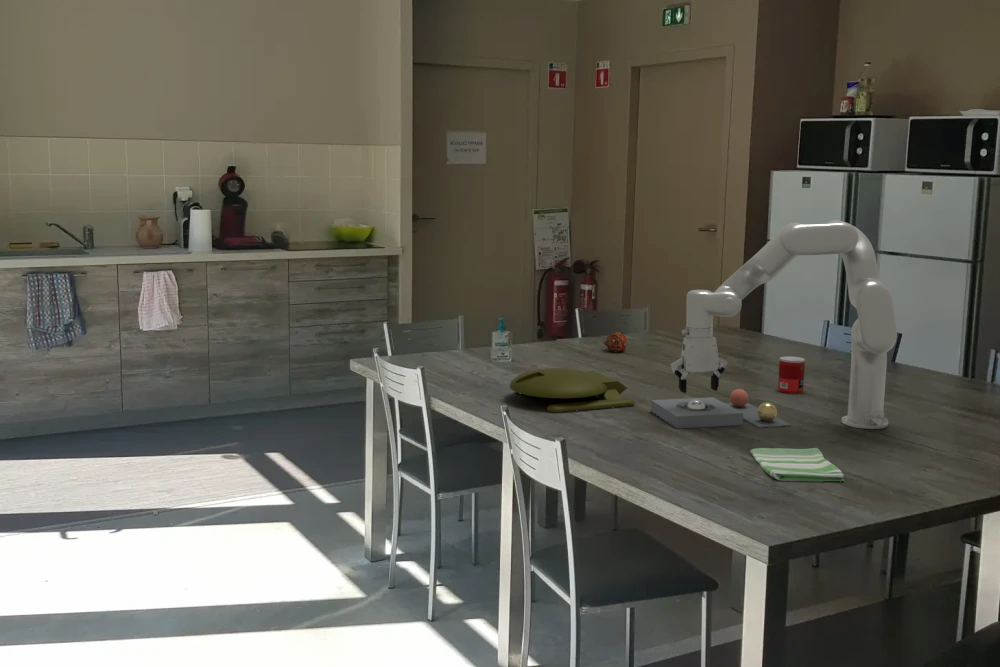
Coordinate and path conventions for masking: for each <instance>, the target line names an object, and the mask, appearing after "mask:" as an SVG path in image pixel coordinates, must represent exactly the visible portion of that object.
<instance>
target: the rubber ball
mask: <svg viewBox="0 0 1000 667" xmlns="http://www.w3.org/2000/svg"><path fill="white" fill-rule="evenodd" d="M729 401H730V403H732V404H733V405H734V406H736V407H742V406H744V405H746V404H747V403H749V394H748V393H747V391H746V390H744V389H742V388H736V389H734V390H732V392H731V393H730V395H729Z"/></svg>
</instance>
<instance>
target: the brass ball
mask: <svg viewBox="0 0 1000 667" xmlns="http://www.w3.org/2000/svg"><path fill="white" fill-rule="evenodd" d="M757 408H758V410H757V414H758V417H759V418H760V419H761V420H763V421H765V422H769V421H772V420H774V419H775V417H777V416H778V410H777V407H776V406H775V405H774V404H773V403H771V402H763V403H761V404H760V405H759V406H758V407H757Z"/></svg>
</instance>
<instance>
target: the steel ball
mask: <svg viewBox="0 0 1000 667" xmlns="http://www.w3.org/2000/svg"><path fill="white" fill-rule="evenodd" d="M687 408H689V409H706V407H705V405H704V403H703V402H702V401H700V400H692V401H690V402H689V403H688V405H687Z"/></svg>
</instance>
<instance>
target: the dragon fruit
mask: <svg viewBox="0 0 1000 667" xmlns="http://www.w3.org/2000/svg"><path fill="white" fill-rule="evenodd" d="M627 343H628V342H627V337H626V335H625V334H622V333H621V332H619V331H614V332H613V333H611V334H610V335H608V336H607V337H606V340H605V341H603V345H604V346H606V347H607V350H608V351H610V352H614V353H616V352H618V353H619V352H620V351H621V352H625V350H626V348H627Z"/></svg>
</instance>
